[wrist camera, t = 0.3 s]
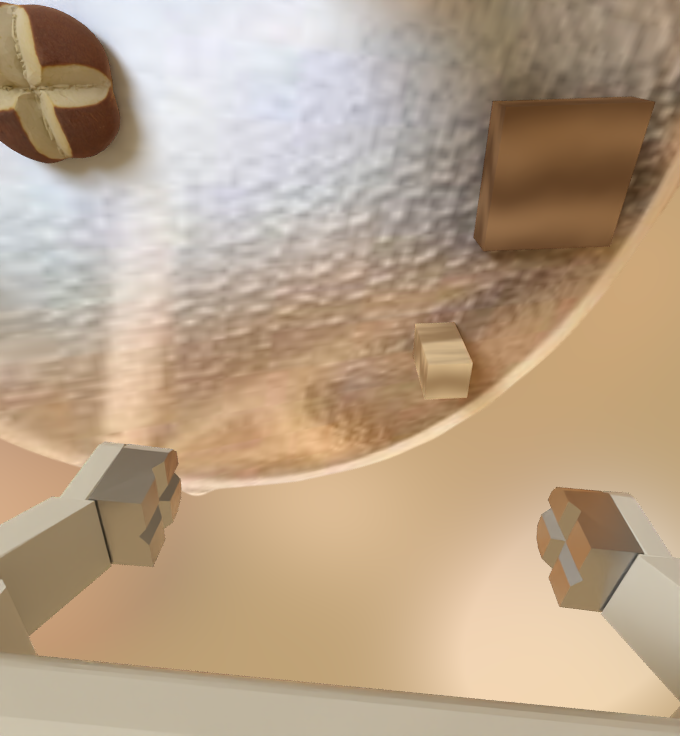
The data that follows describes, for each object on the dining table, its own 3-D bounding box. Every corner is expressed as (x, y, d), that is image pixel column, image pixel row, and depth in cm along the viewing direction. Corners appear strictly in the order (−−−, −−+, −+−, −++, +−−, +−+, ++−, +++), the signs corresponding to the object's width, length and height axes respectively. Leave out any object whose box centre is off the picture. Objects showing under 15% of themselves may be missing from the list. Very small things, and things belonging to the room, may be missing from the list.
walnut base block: (491, 100, 41) (505, 106, 38) (629, 95, 41) (655, 101, 38) (472, 235, 48) (483, 250, 45) (590, 231, 48) (609, 246, 45)
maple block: (415, 323, 54) (428, 364, 47) (454, 322, 54) (472, 363, 47) (412, 356, 56) (424, 399, 50) (450, 354, 56) (467, 397, 50)
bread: (-47, -7, 36) (-94, -11, 32) (111, 13, 37) (85, 12, 33) (-2, 152, 42) (-36, 165, 38) (131, 166, 43) (112, 180, 39)
